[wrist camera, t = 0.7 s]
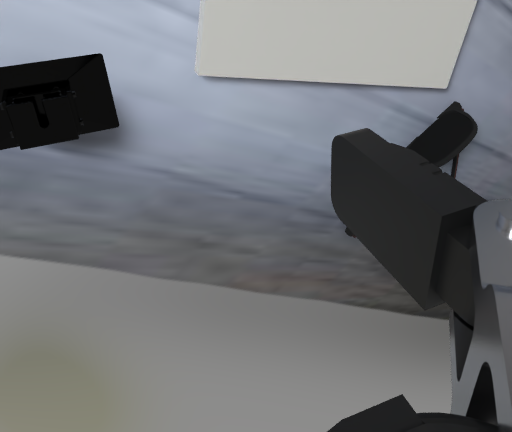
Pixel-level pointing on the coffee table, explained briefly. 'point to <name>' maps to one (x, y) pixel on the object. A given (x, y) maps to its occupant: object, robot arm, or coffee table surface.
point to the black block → (54, 101)
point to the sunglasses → (444, 139)
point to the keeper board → (333, 40)
